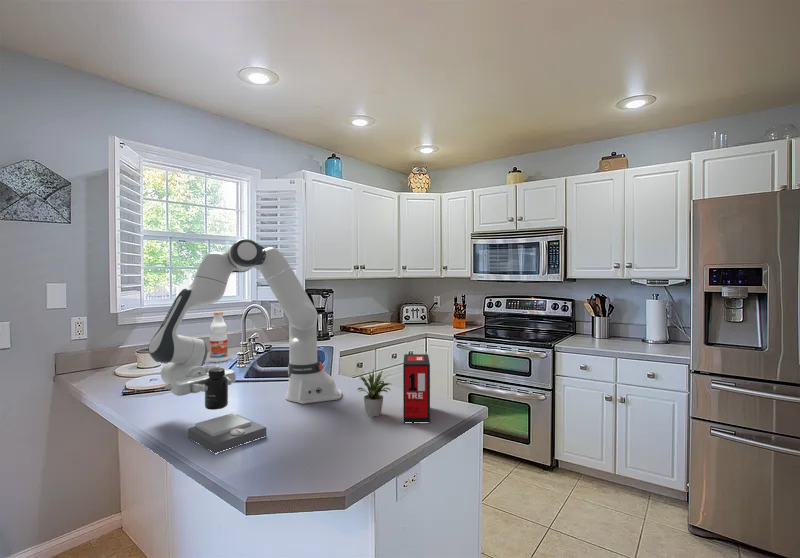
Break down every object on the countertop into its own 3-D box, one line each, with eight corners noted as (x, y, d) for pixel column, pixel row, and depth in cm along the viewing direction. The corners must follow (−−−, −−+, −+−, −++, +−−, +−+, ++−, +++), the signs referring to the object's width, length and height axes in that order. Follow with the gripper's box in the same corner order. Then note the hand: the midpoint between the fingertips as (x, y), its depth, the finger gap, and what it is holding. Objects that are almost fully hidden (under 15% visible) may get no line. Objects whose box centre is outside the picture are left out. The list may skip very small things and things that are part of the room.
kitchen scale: (237, 423, 138) (237, 411, 138) (266, 436, 127) (266, 424, 127) (187, 437, 126) (187, 424, 126) (215, 454, 114) (215, 440, 114)
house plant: (357, 424, 136) (357, 376, 136) (345, 411, 149) (345, 367, 149) (396, 418, 142) (396, 371, 142) (382, 406, 155) (382, 363, 154)
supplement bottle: (205, 411, 127) (205, 373, 127) (204, 405, 133) (203, 368, 133) (229, 408, 130) (228, 370, 130) (227, 401, 136) (226, 366, 136)
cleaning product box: (430, 423, 137) (429, 364, 137) (403, 423, 138) (403, 364, 137) (428, 407, 154) (428, 354, 154) (404, 407, 154) (404, 354, 154)
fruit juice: (225, 358, 243) (225, 311, 242) (229, 361, 235) (228, 312, 235) (208, 360, 237) (207, 312, 237) (211, 363, 230) (211, 313, 229)
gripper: (162, 376, 130) (185, 383, 122) (221, 364, 147) (245, 369, 139) (162, 396, 130) (186, 404, 122) (221, 381, 147) (245, 387, 139)
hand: (218, 385), depth 131 cm, fingers closed on supplement bottle, 7 cm apart
